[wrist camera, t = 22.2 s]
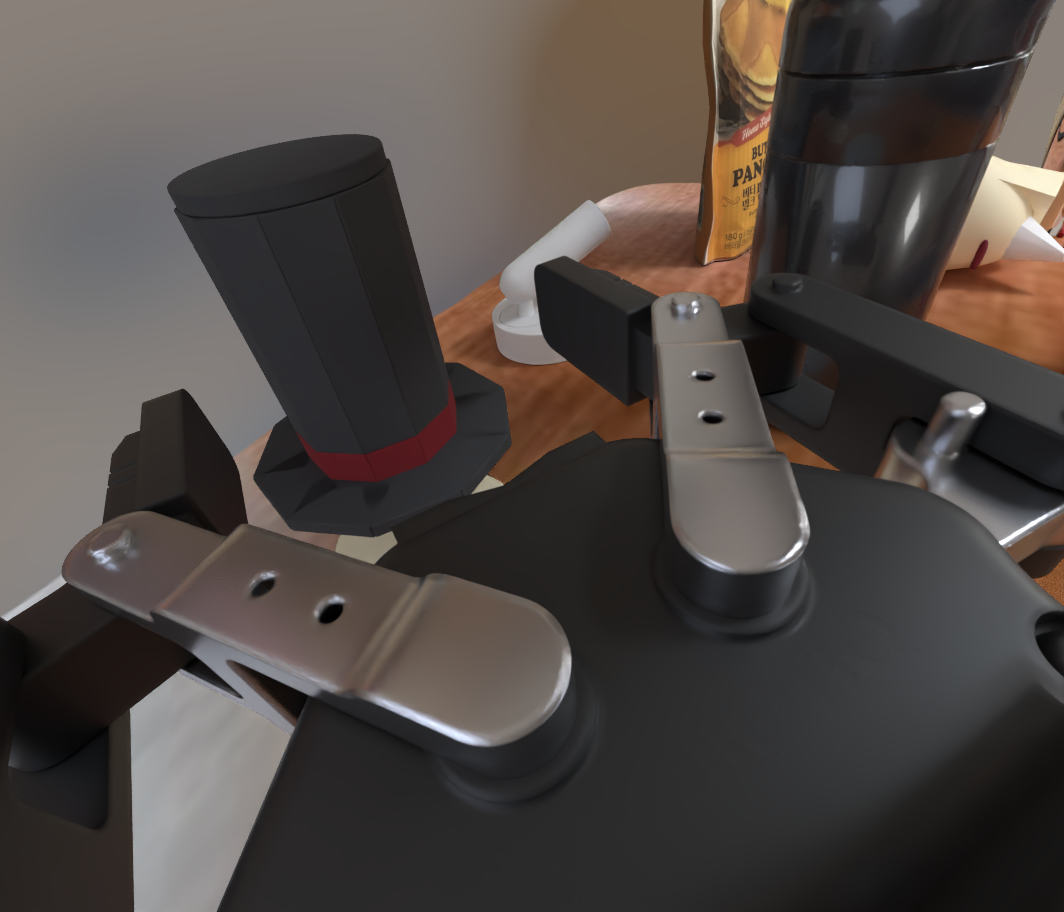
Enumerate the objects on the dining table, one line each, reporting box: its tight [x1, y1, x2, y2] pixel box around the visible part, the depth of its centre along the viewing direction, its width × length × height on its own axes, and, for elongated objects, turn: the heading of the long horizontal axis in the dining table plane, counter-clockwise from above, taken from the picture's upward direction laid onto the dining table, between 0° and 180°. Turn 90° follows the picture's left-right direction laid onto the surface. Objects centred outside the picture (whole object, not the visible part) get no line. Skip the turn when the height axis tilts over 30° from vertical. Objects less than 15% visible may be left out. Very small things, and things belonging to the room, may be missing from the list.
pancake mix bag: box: [694, 0, 791, 265], centre depth 45 cm, size 7×19×28 cm, turn 137°
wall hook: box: [492, 200, 611, 365], centre depth 40 cm, size 9×10×10 cm
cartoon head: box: [946, 156, 1064, 270], centre depth 42 cm, size 9×10×20 cm
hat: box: [167, 134, 512, 538], centre depth 19 cm, size 11×11×11 cm
